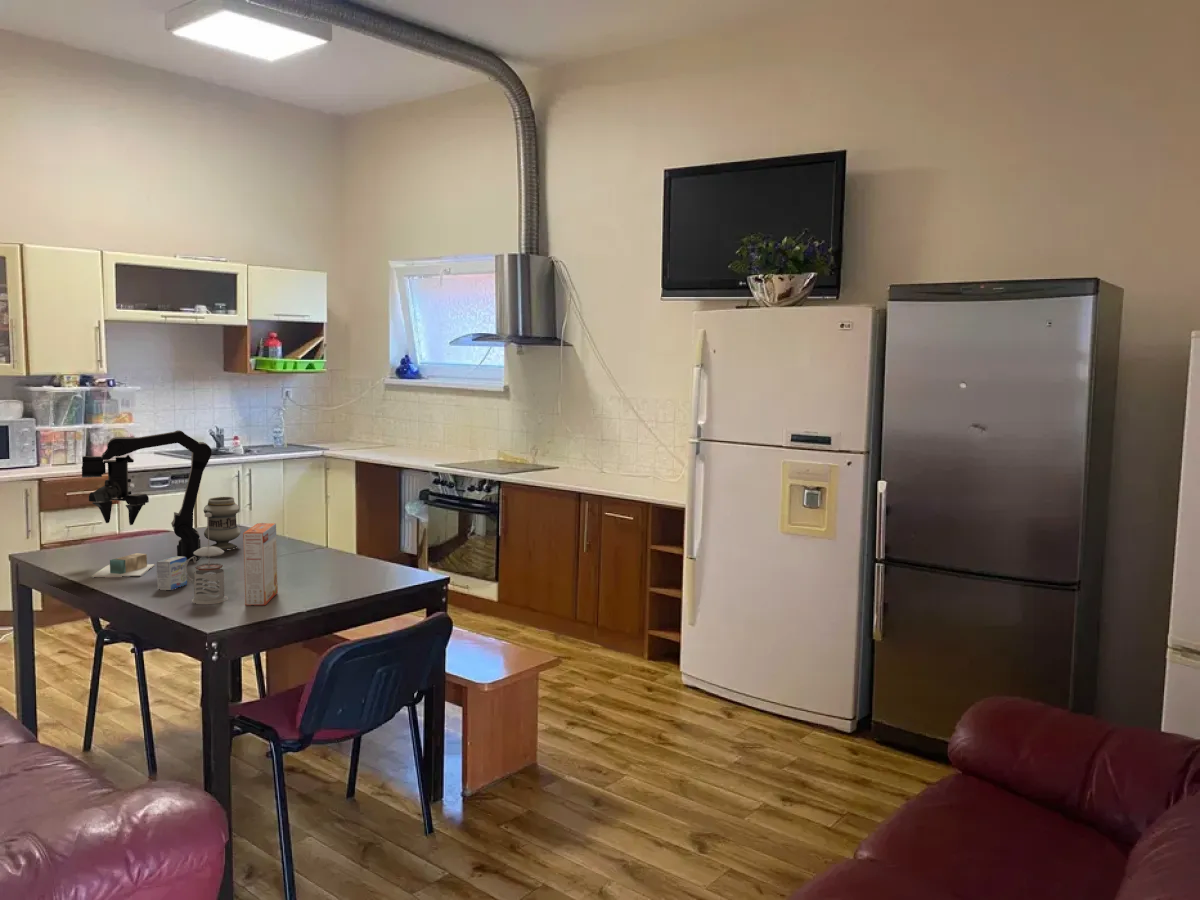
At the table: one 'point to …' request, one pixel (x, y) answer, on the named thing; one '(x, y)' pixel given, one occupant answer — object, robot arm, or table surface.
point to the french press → (208, 576)
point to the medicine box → (171, 573)
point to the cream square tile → (106, 573)
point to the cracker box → (260, 564)
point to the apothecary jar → (222, 522)
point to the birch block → (128, 563)
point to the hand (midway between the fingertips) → (119, 524)
